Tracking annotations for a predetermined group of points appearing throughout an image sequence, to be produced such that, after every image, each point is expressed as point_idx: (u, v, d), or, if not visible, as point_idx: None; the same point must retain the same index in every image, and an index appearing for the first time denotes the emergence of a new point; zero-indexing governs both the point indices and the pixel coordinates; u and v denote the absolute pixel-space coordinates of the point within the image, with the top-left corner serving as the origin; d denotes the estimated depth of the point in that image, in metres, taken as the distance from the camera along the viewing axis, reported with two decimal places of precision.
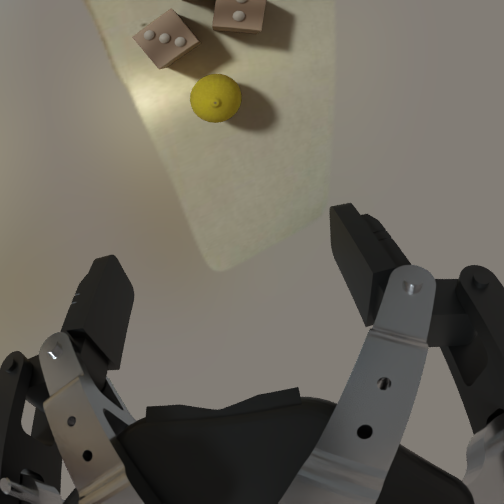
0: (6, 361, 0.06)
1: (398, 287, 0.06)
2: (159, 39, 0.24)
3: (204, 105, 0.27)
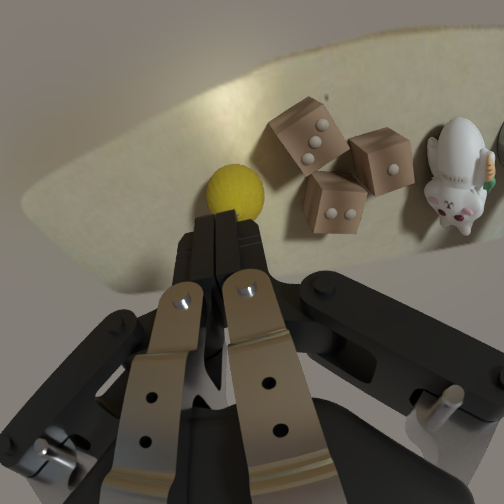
0: (113, 318, 0.07)
1: (228, 290, 0.07)
2: (314, 136, 0.25)
3: (233, 200, 0.25)
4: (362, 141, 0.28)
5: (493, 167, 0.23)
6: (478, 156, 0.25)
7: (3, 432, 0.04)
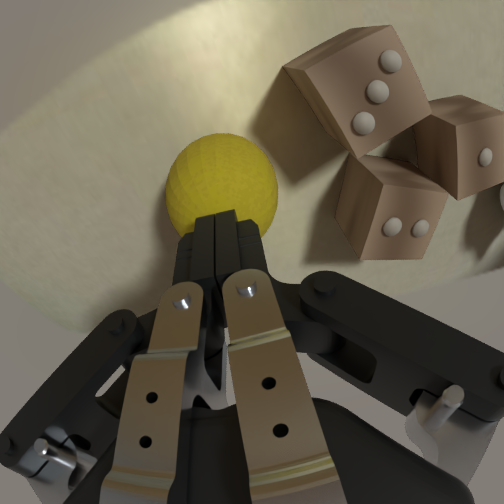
0: (113, 318, 0.07)
1: (228, 290, 0.07)
2: (376, 80, 0.11)
3: (213, 202, 0.12)
4: (435, 108, 0.15)
5: None
6: None
7: (3, 432, 0.04)
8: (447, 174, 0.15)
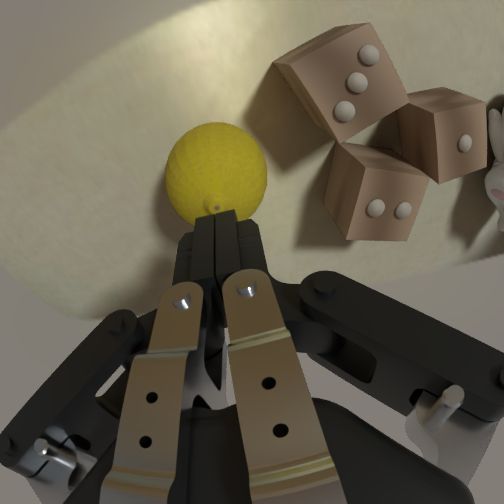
0: (113, 318, 0.07)
1: (228, 290, 0.07)
2: (356, 72, 0.12)
3: (207, 180, 0.13)
4: (416, 99, 0.16)
5: None
6: None
7: (3, 432, 0.04)
8: (428, 160, 0.17)
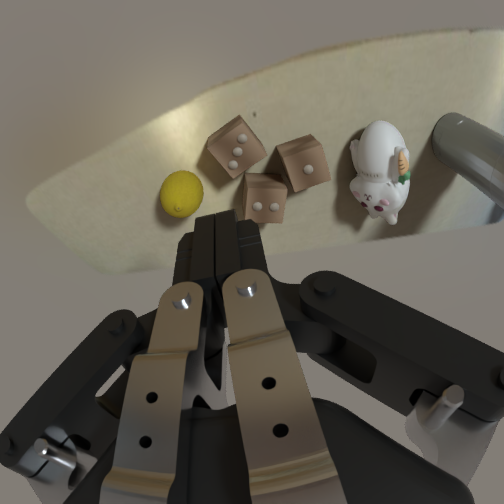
0: (113, 318, 0.07)
1: (228, 290, 0.07)
2: (236, 147, 0.33)
3: (175, 198, 0.34)
4: (285, 147, 0.37)
5: (405, 162, 0.32)
6: (392, 153, 0.33)
7: (3, 432, 0.04)
8: (290, 180, 0.38)
